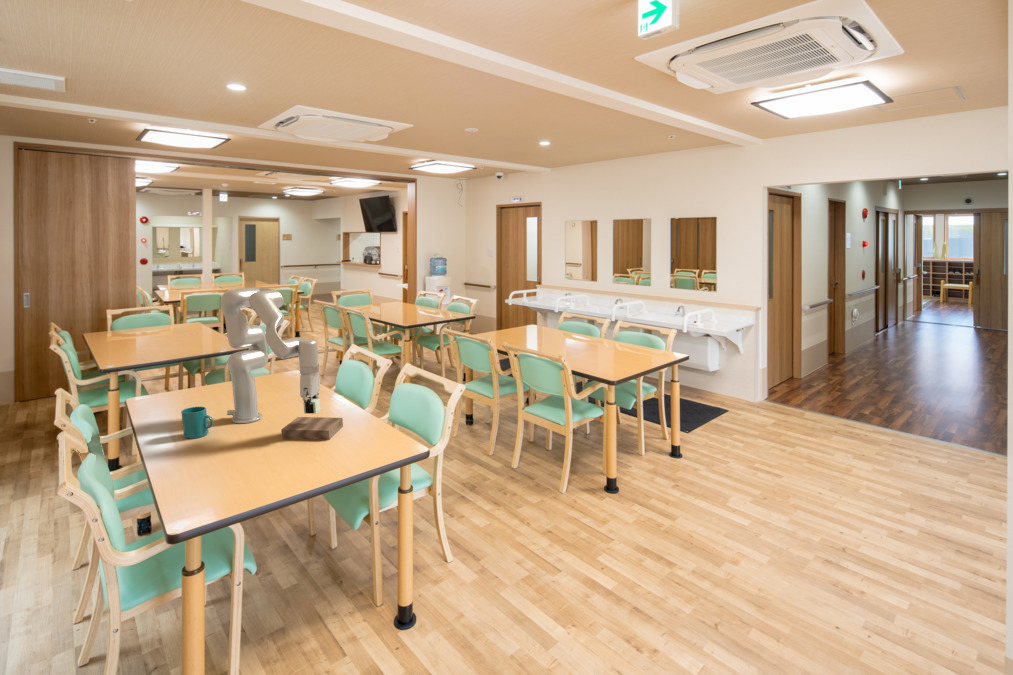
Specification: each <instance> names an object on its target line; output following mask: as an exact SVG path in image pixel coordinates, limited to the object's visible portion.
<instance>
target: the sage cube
mask: <svg viewBox="0 0 1013 675" xmlns="http://www.w3.org/2000/svg"><path fill="white" fill-rule="evenodd" d="M308 399H309V400H310V398H308ZM302 403H303V414H307V413H306V411H305V404H304V401H303V402H302ZM312 404H313V411H314V413H310V414H313V415H314V414H317V413H319V412H320V411H322V410H321V399H320V398H319V399H312Z"/></svg>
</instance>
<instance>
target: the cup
mask: <svg viewBox="0 0 1013 675" xmlns="http://www.w3.org/2000/svg"><path fill="white" fill-rule="evenodd" d="M180 414H181V421H182V423H181V424H182V430H183V432H182V433H183V437H184V438H185V439H188V438H195V439H199V437H201V438H203V436H204V437H206V436H207V435H208V434H209V431H210V430H209V429H211V428H212V427H213V425H214V422H215V421H214V419H213V418H212V416H210V415H208V413H207V408H206V407H205V406H191V407H188V408H184V409H181V412H180ZM208 420H209V421H210V424H209V423H208V422H209V421H208ZM205 435H206V436H205Z"/></svg>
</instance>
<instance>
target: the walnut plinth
mask: <svg viewBox="0 0 1013 675" xmlns="http://www.w3.org/2000/svg"><path fill="white" fill-rule="evenodd" d="M342 428H344V420H343V417H321V416H320V417H319V416H317V417H315V416H313V417H311V416H297V417H296V418H294V419H293V420H292V421H291V422H290V423H288V424H286V425H285V426H284V427H283V428H281V430H280V432H281V439H282V440H315V441H316V440H318V441H322V440H323V441H330V440H331V439H332V438H333V437H334V436H335V435H336V434H337V433H338V432H339V431H340V430H341V429H342Z"/></svg>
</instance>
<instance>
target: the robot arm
mask: <svg viewBox="0 0 1013 675" xmlns="http://www.w3.org/2000/svg"><path fill="white" fill-rule="evenodd" d="M219 302H220V309H221V311H222V313H223V316H224V320H225V321H224V322H225V328H226V335H227V340H228V344H229V346H230V348H232V349H237V350H239V349H245V348H249V349H245V350H240V351H237V352H233V353H232V354H231V355H230V356H228V358H227V366H228V370H229V373H230V377H231V384H232V386H231V387H232V396H233V407H234V409H227V412H226V415H227V416H232V417H231V422H232V423H235V424H248V423H254V422H257V421H260V420H261V419H262V418H263V414H262V413H260V412H259V408H258V396H257V382H256V379H255V376H254V375H253V374H252V373H251V371H255V370H258V369H262V368H264V367H266V366H267V365H268V362H269V353H268V352H269V351H268V347H269V349H270V350H271V351H272V353H273V354H274V355H275V356H277V357H278V358H279V359H282V360H284V359H290V358H294V357H297V356H298V363H299V374H300V376H299V379H300V380H299V395H300V396H299V397H300V398H302V401H303V402H304V403H303V405H304V404H305V411H306V413H305V414H311V413H314V411H313V404H312V399H320V398H319V393H320V391H321V385H320V384H321V383H320V376H319V373H320V366H319V351H318V349H319V348H318V342H317V341H316V340H315V339H306V338H304V337H294V338H289V339H284V340H283V338H281V337H280V335H279V333H278V332H277V328H278V327H280V326H281V325H283V322H284V321H285V315H284V313H283V312H282V311H281V310H280V308H282V306H283V305H284V297H283V295H282V293H281V292H279V291H278V289H277V290H276V289H273V288H272V289H271V288H266V287H260V286H259V287H257V286H255V287H254V286H253V287H243V288H235V289H229V290H227V291H225V292H224V293H222V295H221V297H220V301H219ZM244 308H251V309H252V310H253V311H254V312H255V314H256V315H257V317H258V318H259V319H260V321H261V322H262V323H263V324H264V326H265V331H264V330H263V328H262V327H261V326H259V325H257V324H249V325H248V320H247V316H246V314H245V312H244V311H243V310H242V309H244ZM309 399H310V400H309Z"/></svg>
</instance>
